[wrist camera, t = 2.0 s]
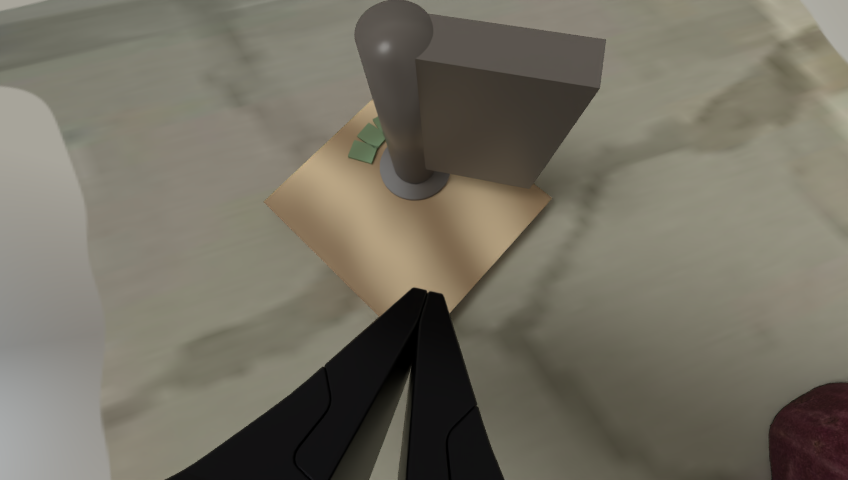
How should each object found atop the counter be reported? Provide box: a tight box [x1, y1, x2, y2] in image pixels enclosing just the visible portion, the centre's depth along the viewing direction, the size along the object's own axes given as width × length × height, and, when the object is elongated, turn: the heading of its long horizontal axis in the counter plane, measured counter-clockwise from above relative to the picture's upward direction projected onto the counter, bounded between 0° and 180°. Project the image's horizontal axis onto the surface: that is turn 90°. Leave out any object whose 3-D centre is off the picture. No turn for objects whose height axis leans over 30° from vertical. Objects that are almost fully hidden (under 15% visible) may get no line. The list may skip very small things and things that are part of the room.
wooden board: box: [264, 99, 552, 317], centre depth 20 cm, size 12×13×2 cm
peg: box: [355, 0, 606, 189], centre depth 15 cm, size 6×8×10 cm
